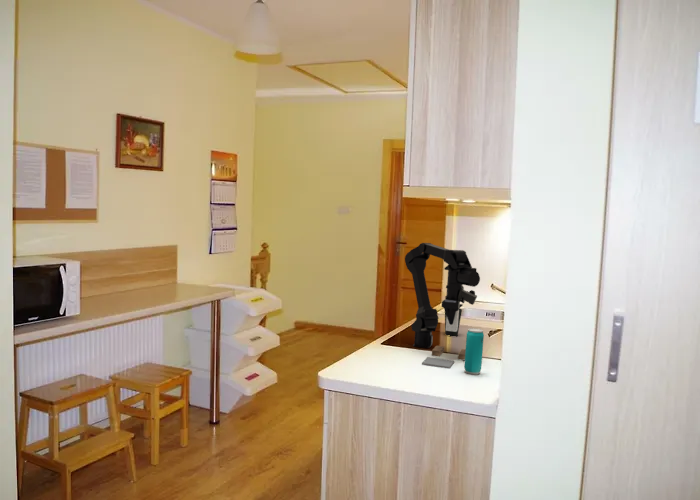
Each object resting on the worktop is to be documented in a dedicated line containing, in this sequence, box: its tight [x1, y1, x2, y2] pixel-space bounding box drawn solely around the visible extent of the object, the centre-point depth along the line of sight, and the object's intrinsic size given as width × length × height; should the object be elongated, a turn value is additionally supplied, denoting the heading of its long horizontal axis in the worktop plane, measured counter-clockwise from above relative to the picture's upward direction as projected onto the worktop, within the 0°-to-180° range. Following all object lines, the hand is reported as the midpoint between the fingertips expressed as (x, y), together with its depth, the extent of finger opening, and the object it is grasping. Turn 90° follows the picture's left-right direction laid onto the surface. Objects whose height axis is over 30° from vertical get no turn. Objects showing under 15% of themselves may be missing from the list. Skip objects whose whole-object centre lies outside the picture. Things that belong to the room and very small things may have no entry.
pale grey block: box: [446, 309, 459, 332], centre depth 221 cm, size 4×4×8 cm
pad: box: [421, 356, 455, 369], centre depth 210 cm, size 10×10×1 cm
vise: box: [431, 345, 466, 361], centre depth 222 cm, size 18×9×2 cm, turn 71°
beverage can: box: [464, 327, 485, 376], centre depth 199 cm, size 6×6×15 cm
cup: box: [444, 308, 463, 337], centre depth 261 cm, size 8×8×12 cm
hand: (452, 323), depth 221 cm, fingers closed on pale grey block, 4 cm apart
